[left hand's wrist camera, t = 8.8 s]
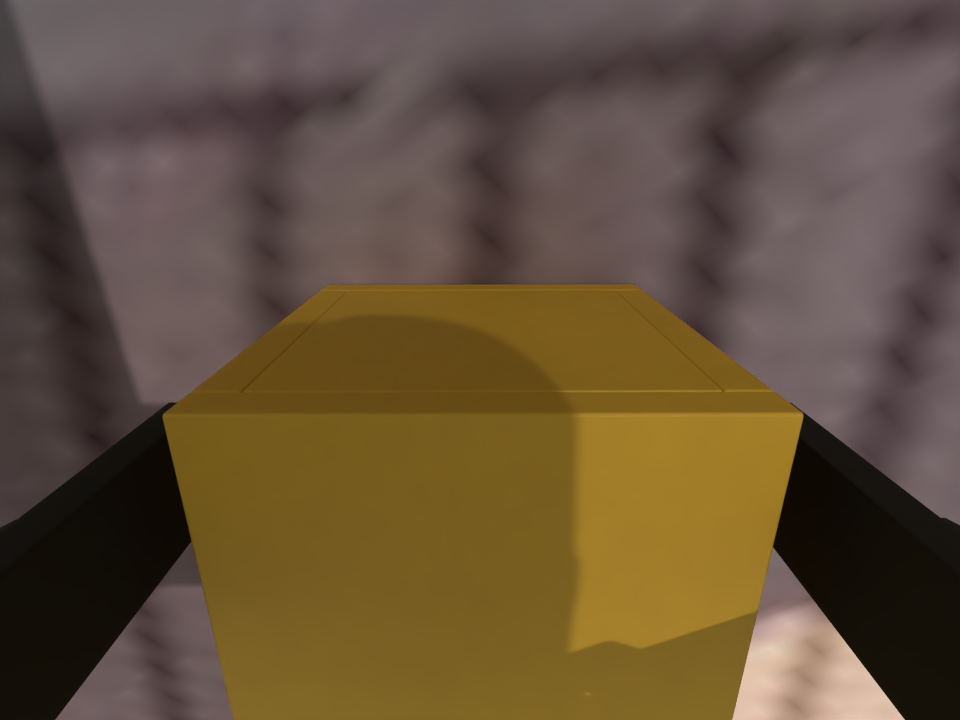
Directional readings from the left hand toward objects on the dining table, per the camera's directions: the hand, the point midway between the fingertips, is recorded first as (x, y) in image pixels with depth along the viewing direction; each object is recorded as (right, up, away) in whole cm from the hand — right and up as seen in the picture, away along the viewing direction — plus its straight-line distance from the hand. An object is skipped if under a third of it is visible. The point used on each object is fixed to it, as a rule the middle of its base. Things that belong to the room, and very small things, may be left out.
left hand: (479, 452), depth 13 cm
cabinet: (0, -3, +7) cm, 8 cm away
